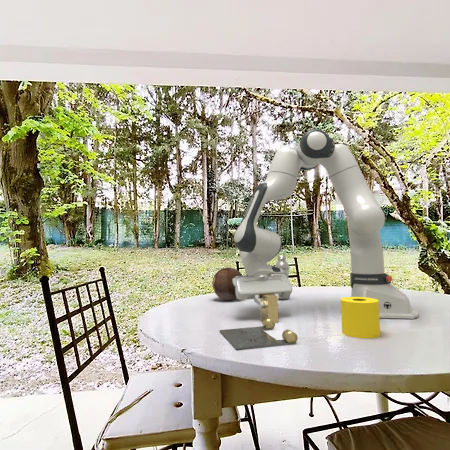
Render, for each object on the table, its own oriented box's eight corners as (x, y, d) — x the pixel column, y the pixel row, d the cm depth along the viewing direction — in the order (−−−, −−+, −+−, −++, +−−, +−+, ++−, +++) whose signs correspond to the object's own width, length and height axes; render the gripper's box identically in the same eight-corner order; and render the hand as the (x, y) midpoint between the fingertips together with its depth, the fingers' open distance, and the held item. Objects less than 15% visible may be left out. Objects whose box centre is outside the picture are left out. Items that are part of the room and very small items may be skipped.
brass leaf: (260, 318, 115) (260, 293, 116) (270, 317, 116) (269, 293, 117) (268, 323, 108) (267, 296, 109) (278, 322, 109) (277, 296, 110)
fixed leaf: (219, 331, 99) (219, 321, 100) (271, 327, 104) (271, 317, 104) (236, 350, 82) (236, 337, 82) (297, 343, 86) (297, 331, 86)
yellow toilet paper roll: (373, 340, 87) (371, 304, 88) (336, 334, 94) (334, 300, 94) (385, 332, 95) (383, 298, 95) (350, 327, 101) (348, 295, 102)
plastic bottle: (275, 298, 156) (274, 255, 157) (290, 298, 155) (288, 255, 156) (275, 300, 150) (274, 255, 151) (290, 300, 149) (289, 255, 150)
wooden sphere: (245, 297, 161) (245, 266, 162) (244, 303, 146) (243, 268, 147) (215, 297, 162) (214, 266, 163) (210, 303, 147) (209, 269, 148)
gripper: (232, 270, 117) (241, 303, 107) (286, 268, 122) (299, 299, 112) (229, 282, 121) (238, 314, 111) (281, 279, 126) (294, 310, 116)
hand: (269, 307), depth 112 cm, fingers closed on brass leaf, 3 cm apart
